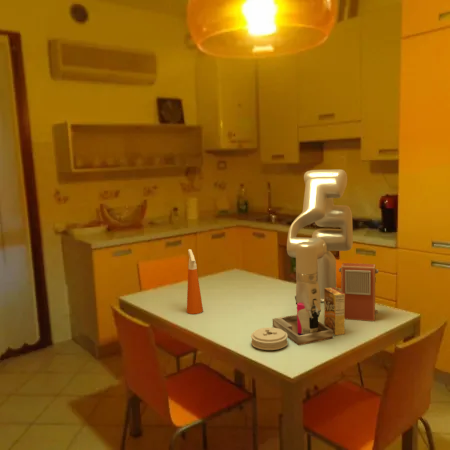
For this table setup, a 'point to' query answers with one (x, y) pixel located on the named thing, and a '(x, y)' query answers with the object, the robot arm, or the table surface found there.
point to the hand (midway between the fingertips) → (307, 323)
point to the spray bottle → (193, 287)
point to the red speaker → (359, 290)
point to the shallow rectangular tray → (291, 329)
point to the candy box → (334, 310)
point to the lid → (269, 338)
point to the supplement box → (304, 320)
